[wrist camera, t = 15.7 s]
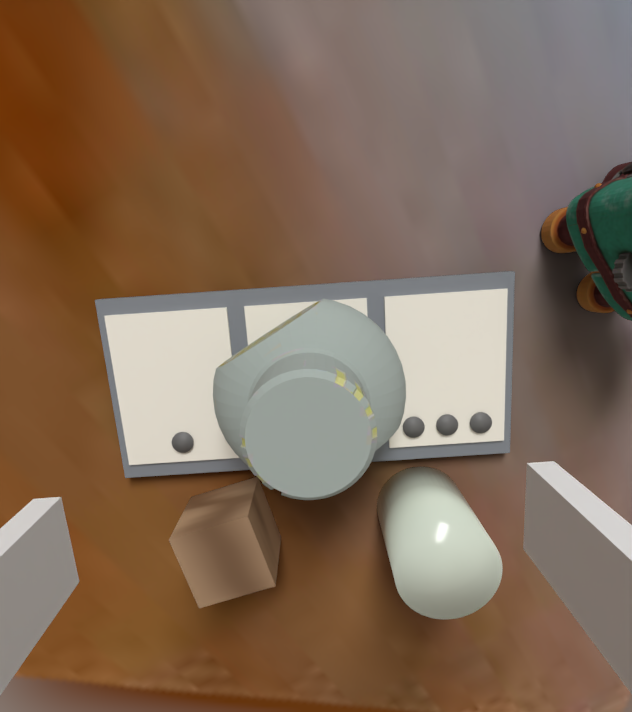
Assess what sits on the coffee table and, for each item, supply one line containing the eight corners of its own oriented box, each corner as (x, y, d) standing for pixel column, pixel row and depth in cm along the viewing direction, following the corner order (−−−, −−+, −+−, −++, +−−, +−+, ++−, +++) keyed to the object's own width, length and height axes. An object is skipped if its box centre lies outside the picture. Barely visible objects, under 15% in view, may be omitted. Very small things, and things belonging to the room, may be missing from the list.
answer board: (129, 472, 31) (122, 480, 29) (101, 299, 28) (91, 300, 27) (504, 447, 30) (512, 455, 29) (509, 271, 28) (517, 271, 27)
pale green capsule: (378, 545, 32) (396, 622, 25) (375, 469, 31) (393, 528, 24) (460, 540, 32) (501, 616, 25) (461, 463, 31) (503, 521, 24)
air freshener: (348, 279, 27) (368, 282, 17) (416, 389, 28) (471, 450, 18) (202, 373, 28) (142, 427, 18) (274, 475, 29) (255, 577, 20)
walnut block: (216, 555, 32) (199, 608, 27) (191, 496, 31) (168, 540, 26) (281, 536, 32) (275, 586, 27) (258, 475, 31) (247, 516, 26)
